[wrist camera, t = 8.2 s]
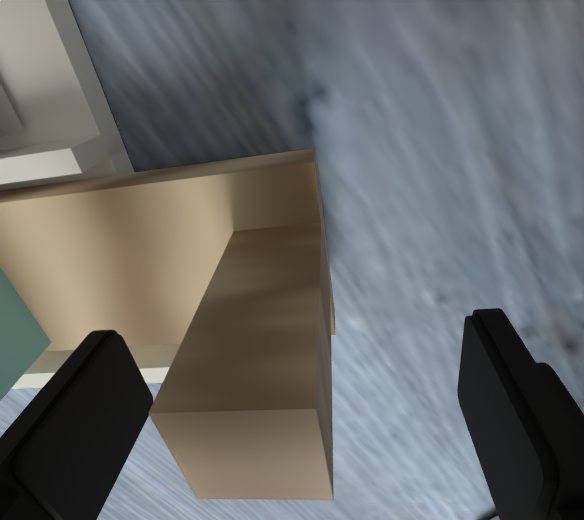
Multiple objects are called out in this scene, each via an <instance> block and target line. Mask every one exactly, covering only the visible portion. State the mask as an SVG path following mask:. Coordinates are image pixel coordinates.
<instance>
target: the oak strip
mask: <svg viewBox="0 0 584 520" xmlns="http://www.w3.org/2000/svg"><path fill="white" fill-rule="evenodd" d="M0 268H1V269H2V271H3V272H4V273H5V275H6V276H7V278H8V279H9V281H10V282H11V284H12V285H13V287H14V288H15V290H16V291H17V293H18V294H19V296H20V297H21V298H22V300H23V301H24V303H25V304H26V306H27V307H28V309H29V310H30V312H31V313H32V315H33V316H34V318H35V319H36V321H37V322H38V323H39V325H40V326H41V328H42V329H43V331H44V332H45V334H46V335H47V337H48V338H49V340H50V341H51V344H50V345H49V346H48V347H47V348H46V349H45V351H61V350H75V349H76V348H77V347H78V346H79V345H80V343H81V342H82V341H83V340H84V339H85V338H86V336H87V335H88V334H89V333H90V332H92V331H94V330H115V331H116V332H117V333H118V334H120V335H121V336H122V337H123V338H124V340H125V342H126V344H127V346H128V347H130V346H147V345H164V344H181V345H180V347H179V349H178V351H177V353H176V355H175V357H174V360H173V362H172V364H171V366H170V368H169V370H168V372H167V375H166V377H165V379H164V381H163V383H162V385H161V387H160V390H159V392H158V394H157V396H156V398H155V400H154V402H153V404H152V407H151V409H150V411H149V413H148V414H149V415H150V417H151V419H152V421H153V422H154V424H155V426H156V428H157V429H158V431H159V433H160V435H161V437H162V438H163V440H164V442H165V444H166V445H167V447H168V449H169V451H170V452H171V454H172V456H173V458H174V459H175V461H176V463H177V465H178V466H179V468H180V470H181V472H182V473H183V475H184V477H185V479H186V480H187V482H188V484H189V486H190V487H191V489H192V491H193V493H194V494H195V496H196V498H197V499H273V500H333V438H332V371H331V335H335V308H334V300H333V291H332V283H331V275H330V267H329V258H328V250H327V242H326V234H325V225H324V217H323V209H322V200H321V192H320V184H319V176H318V167H317V159H316V151H315V148H311V149H304V150H296V151H289V152H282V153H274V154H267V155H259V156H252V157H245V158H237V159H230V160H223V161H215V162H208V163H200V164H193V165H186V166H178V167H171V168H163V169H156V170H149V171H141V172H134V173H127V174H119V175H112V176H104V177H97V178H90V179H82V180H75V181H68V182H60V183H53V184H45V185H38V186H31V187H23V188H16V189H9V190H1V191H0Z"/></svg>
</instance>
